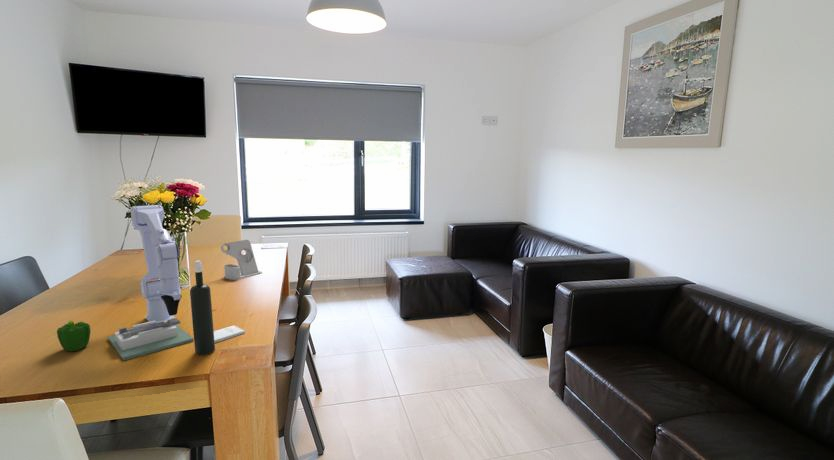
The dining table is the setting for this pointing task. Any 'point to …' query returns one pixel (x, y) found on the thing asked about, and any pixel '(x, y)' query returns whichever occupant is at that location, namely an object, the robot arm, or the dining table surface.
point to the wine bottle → (202, 314)
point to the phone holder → (240, 260)
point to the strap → (152, 326)
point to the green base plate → (148, 340)
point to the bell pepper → (74, 335)
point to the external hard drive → (227, 333)
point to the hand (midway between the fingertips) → (172, 314)
